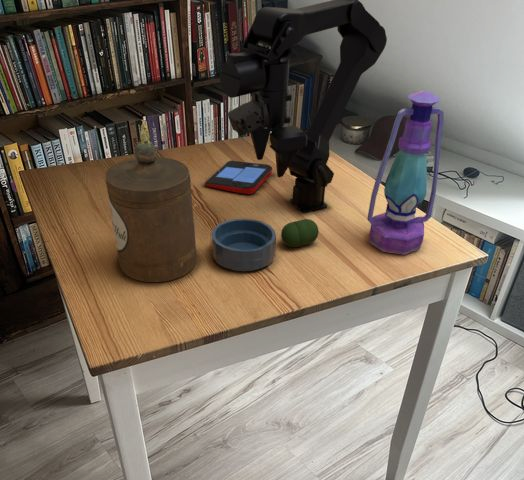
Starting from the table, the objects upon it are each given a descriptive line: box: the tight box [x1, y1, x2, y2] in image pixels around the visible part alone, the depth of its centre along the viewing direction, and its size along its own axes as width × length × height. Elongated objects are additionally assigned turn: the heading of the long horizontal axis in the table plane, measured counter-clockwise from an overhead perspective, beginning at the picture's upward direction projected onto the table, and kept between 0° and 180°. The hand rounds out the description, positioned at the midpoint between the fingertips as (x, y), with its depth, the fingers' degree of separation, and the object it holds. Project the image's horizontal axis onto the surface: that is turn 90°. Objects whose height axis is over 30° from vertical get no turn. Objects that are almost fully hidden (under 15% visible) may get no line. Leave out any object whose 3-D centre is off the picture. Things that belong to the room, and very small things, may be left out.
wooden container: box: [104, 149, 197, 283], centre depth 102 cm, size 15×15×22 cm
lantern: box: [366, 90, 445, 255], centre depth 108 cm, size 13×12×30 cm
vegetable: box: [134, 119, 157, 158], centre depth 117 cm, size 4×4×20 cm
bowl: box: [210, 218, 277, 272], centre depth 110 cm, size 12×12×5 cm
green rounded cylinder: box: [280, 218, 319, 248], centre depth 114 cm, size 8×5×5 cm, turn 116°
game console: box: [204, 160, 273, 195], centre depth 137 cm, size 14×13×2 cm
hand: (269, 167), depth 115 cm, fingers open, 9 cm apart
